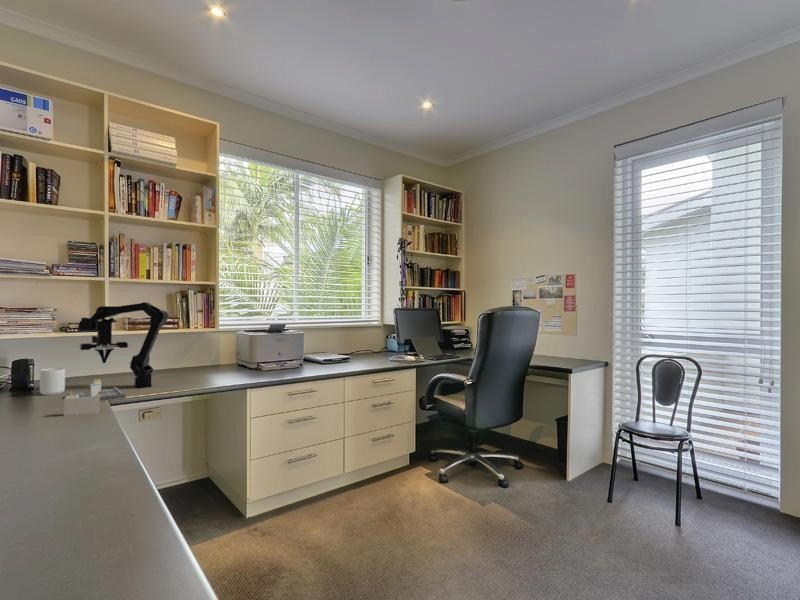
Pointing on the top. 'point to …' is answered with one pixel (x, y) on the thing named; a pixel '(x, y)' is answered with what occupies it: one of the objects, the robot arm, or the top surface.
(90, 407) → the model
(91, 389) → the fader teal
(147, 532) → the top surface
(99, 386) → the grey rectangular block
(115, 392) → the console
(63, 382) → the mug
